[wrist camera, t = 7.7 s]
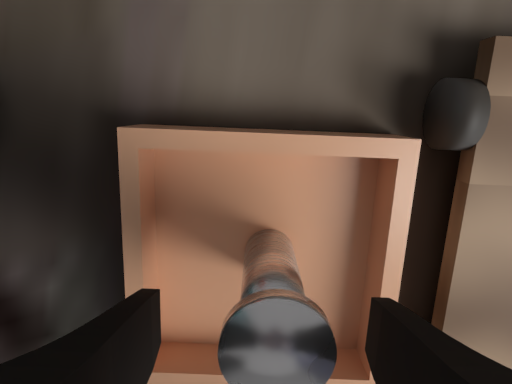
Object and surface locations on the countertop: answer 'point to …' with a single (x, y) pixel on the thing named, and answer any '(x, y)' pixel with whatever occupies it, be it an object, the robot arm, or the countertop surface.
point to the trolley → (477, 202)
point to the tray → (259, 218)
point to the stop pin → (275, 321)
